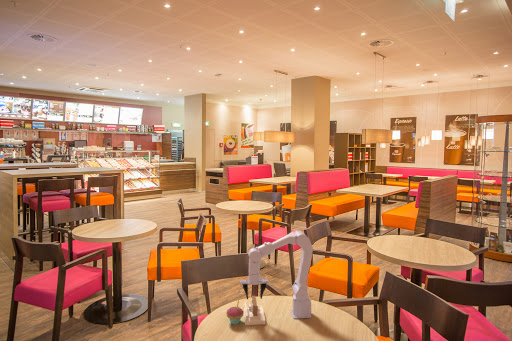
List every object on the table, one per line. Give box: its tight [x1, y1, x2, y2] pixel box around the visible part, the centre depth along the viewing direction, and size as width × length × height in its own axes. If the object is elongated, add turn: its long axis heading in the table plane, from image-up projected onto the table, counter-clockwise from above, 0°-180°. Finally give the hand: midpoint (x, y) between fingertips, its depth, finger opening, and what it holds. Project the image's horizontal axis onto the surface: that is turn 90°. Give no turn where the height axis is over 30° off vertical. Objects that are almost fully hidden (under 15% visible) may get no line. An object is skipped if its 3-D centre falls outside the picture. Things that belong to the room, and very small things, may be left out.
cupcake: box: [225, 299, 244, 325], centre depth 157 cm, size 9×8×12 cm
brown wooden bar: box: [250, 295, 258, 316], centre depth 161 cm, size 2×11×5 cm, turn 5°
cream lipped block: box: [243, 302, 266, 326], centre depth 161 cm, size 10×13×5 cm
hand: (254, 298), depth 161 cm, fingers open, 6 cm apart
